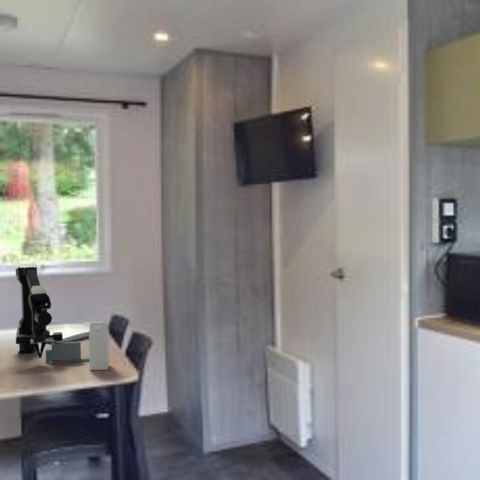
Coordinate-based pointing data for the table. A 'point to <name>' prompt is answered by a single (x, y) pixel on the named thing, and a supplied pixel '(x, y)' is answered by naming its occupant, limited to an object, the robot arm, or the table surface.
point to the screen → (66, 350)
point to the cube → (48, 354)
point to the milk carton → (99, 346)
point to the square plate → (69, 332)
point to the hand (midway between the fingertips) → (40, 357)
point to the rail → (69, 360)
